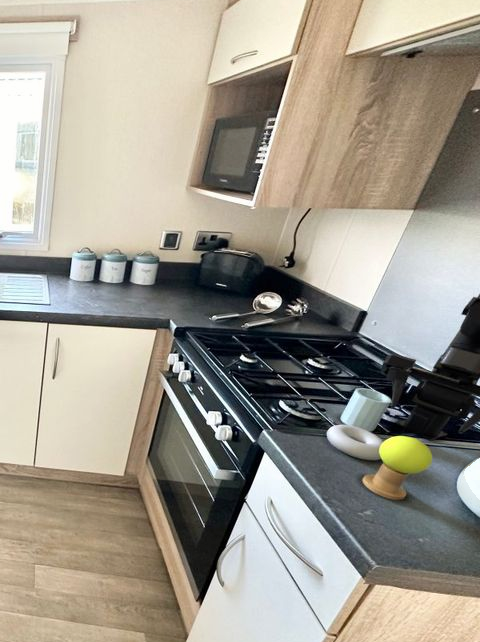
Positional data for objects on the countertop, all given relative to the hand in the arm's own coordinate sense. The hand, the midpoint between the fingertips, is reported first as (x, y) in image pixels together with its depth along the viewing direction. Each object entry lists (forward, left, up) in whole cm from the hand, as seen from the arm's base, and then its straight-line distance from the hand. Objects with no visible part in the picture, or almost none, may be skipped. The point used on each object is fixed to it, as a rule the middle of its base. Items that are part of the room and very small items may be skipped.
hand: (424, 419), depth 77 cm
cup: (-11, -13, -13) cm, 22 cm away
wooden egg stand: (+8, +3, -13) cm, 15 cm away
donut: (0, -7, -13) cm, 15 cm away
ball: (+8, +3, -4) cm, 9 cm away
